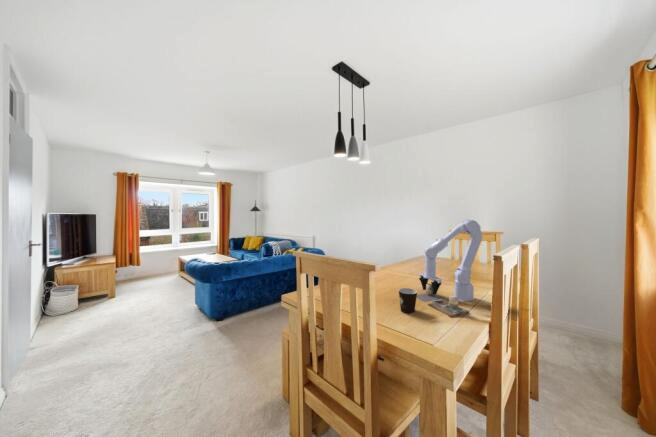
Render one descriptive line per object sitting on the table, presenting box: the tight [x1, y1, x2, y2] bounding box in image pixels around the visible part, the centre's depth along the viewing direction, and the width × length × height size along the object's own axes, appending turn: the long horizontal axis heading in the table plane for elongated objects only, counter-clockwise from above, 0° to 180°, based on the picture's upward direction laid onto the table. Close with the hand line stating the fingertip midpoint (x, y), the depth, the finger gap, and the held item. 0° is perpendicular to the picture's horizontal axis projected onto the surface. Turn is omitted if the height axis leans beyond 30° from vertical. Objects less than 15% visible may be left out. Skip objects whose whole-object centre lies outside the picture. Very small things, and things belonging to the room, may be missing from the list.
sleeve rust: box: [425, 283, 434, 296], centre depth 139 cm, size 4×4×6 cm
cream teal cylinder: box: [448, 295, 459, 311], centre depth 117 cm, size 4×4×6 cm
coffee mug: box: [398, 287, 418, 315], centre depth 120 cm, size 12×9×10 cm
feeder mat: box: [416, 292, 445, 303], centre depth 137 cm, size 14×10×1 cm
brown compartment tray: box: [427, 299, 470, 318], centre depth 121 cm, size 12×14×2 cm
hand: (429, 291), depth 139 cm, fingers open, 7 cm apart
